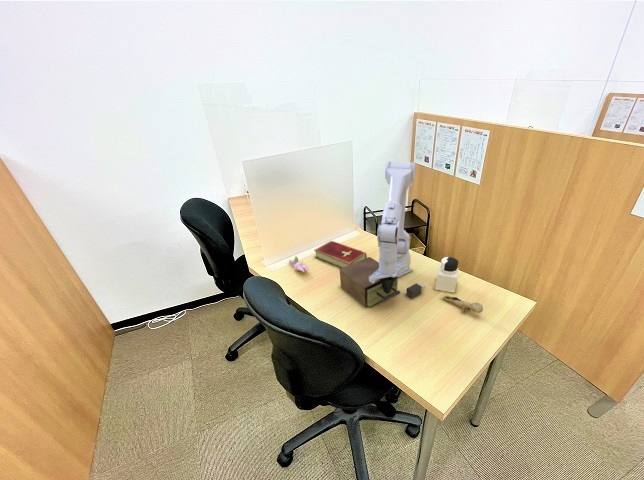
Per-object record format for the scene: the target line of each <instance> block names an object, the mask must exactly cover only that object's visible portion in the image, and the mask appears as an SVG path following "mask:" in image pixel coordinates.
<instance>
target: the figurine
mask: <svg viewBox="0 0 644 480" xmlns="http://www.w3.org/2000/svg"><path fill="white" fill-rule="evenodd" d="M442 300H444V301H446V302H449V303H454V305H457V306H458V307H461V310H462V313H463V314H465V313H466V311H465V309H468V310H471V311H472V312H473V313H475V314H481V313H482V312H483V311H484V306H483V305H482V304H481V303H480V302H472V303H470V302H469V301H464V300H462V299H460V298H458V297H457V296H450V295H446V296H444V297H443V298H442Z"/></svg>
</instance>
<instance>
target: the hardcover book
mask: <svg viewBox="0 0 644 480" xmlns="http://www.w3.org/2000/svg"><path fill="white" fill-rule="evenodd" d="M314 252H315V256H314V258H315V259H318V260H320V261H322V262H325V263H328V264H329V265H333V266H335V267H338V268H339V269H341V268H343V267H346V266H348V265H351V264H353V263H356V262H358V261H360V260H363V259H365V258H368V257H367V256H368V255H367V252H365V251H362V250H359V249H357V248H353V247H351V246H348V245H345V244H342V243H339V242H336V241H333V240H330V241H328V242H326V243H324V244H323V245H321V246H319V247H317V248H315V249H314Z"/></svg>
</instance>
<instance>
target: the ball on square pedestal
mask: <svg viewBox="0 0 644 480" xmlns="http://www.w3.org/2000/svg"><path fill="white" fill-rule="evenodd" d="M440 261H441V262H440V265H439V266H438V270H437V275H436V281H435V290H436V291H441V292H448V293H453V294H454V293H455V292H456V287H457V283H458V276H459V260H458V259H457V258H455V257H453V256H444V257H443V258H441V260H440Z"/></svg>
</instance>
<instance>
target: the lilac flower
mask: <svg viewBox="0 0 644 480" xmlns="http://www.w3.org/2000/svg"><path fill="white" fill-rule="evenodd" d="M289 267H293V269H294V270H295V271H299V272H300V271H301V272H303V273H306V272H305V271H307V272H308V271H309V267H308V265H307V264H305V263H304V261H303V260H301V261H299V258H298V257H297V256H296V255H295V256H294V259H293V260H290V259H289Z"/></svg>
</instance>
